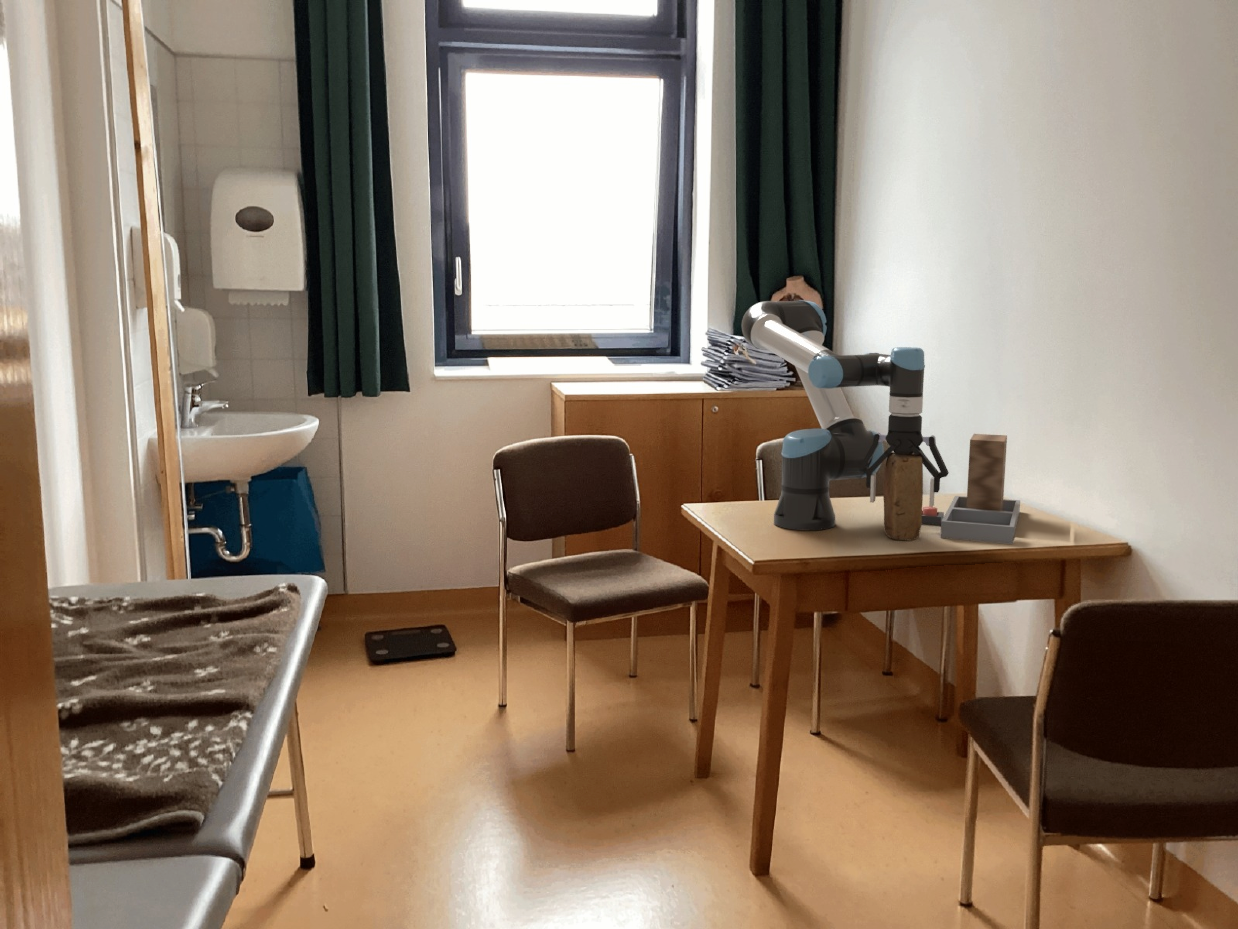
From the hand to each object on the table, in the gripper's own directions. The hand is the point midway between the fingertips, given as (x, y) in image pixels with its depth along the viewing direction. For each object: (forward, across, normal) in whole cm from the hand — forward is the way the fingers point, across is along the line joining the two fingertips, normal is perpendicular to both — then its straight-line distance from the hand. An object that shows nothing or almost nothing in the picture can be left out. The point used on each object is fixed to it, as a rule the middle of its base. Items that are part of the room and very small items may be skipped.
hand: (901, 503), depth 247 cm
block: (+8, 0, 0) cm, 8 cm away
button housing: (+8, +5, +14) cm, 17 cm away
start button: (+7, +5, +14) cm, 16 cm away
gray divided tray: (+8, +17, +18) cm, 26 cm away
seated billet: (+7, +17, +26) cm, 32 cm away
